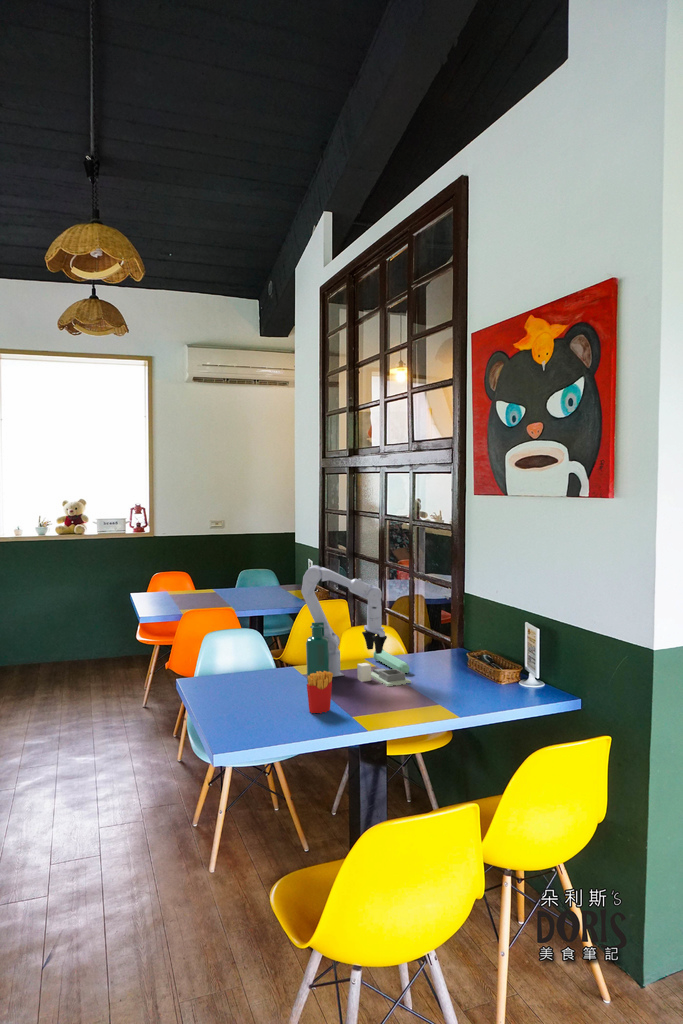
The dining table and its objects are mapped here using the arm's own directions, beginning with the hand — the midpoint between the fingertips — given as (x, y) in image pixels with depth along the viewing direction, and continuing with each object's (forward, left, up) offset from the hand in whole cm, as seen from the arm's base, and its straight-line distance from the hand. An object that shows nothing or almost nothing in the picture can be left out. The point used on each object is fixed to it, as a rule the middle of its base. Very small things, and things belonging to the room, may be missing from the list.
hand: (374, 651), depth 272 cm
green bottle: (-23, +1, -10) cm, 25 cm away
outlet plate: (+3, -7, -10) cm, 12 cm away
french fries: (-35, -32, -10) cm, 49 cm away
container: (+12, +8, -10) cm, 17 cm away
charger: (-6, -4, -10) cm, 12 cm away
